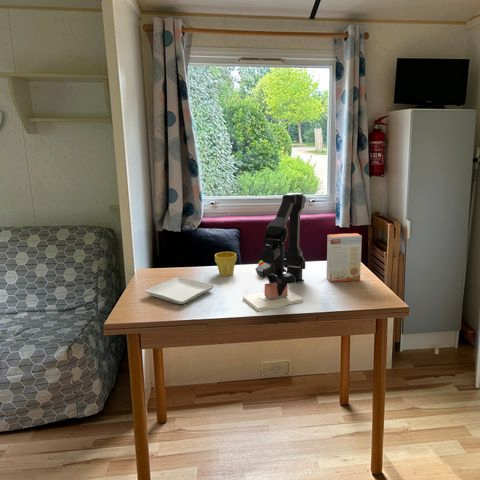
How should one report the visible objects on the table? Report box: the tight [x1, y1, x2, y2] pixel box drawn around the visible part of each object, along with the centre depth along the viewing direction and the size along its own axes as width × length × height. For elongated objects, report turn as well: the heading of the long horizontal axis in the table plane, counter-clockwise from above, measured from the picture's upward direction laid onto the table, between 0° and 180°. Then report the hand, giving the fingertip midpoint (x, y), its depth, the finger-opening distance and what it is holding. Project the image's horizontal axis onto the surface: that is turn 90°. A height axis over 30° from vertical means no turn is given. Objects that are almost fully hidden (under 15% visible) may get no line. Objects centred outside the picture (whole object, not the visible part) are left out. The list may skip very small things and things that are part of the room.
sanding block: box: [264, 282, 289, 300], centre depth 159 cm, size 8×4×5 cm, turn 116°
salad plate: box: [144, 276, 215, 305], centre depth 167 cm, size 21×21×3 cm
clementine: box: [256, 260, 265, 267], centre depth 189 cm, size 8×7×7 cm
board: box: [242, 289, 304, 312], centre depth 159 cm, size 20×13×1 cm, turn 115°
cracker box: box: [326, 232, 363, 283], centre depth 178 cm, size 14×6×21 cm, turn 94°
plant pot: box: [214, 251, 238, 277], centre depth 191 cm, size 10×10×10 cm
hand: (276, 293), depth 159 cm, fingers closed on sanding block, 4 cm apart
